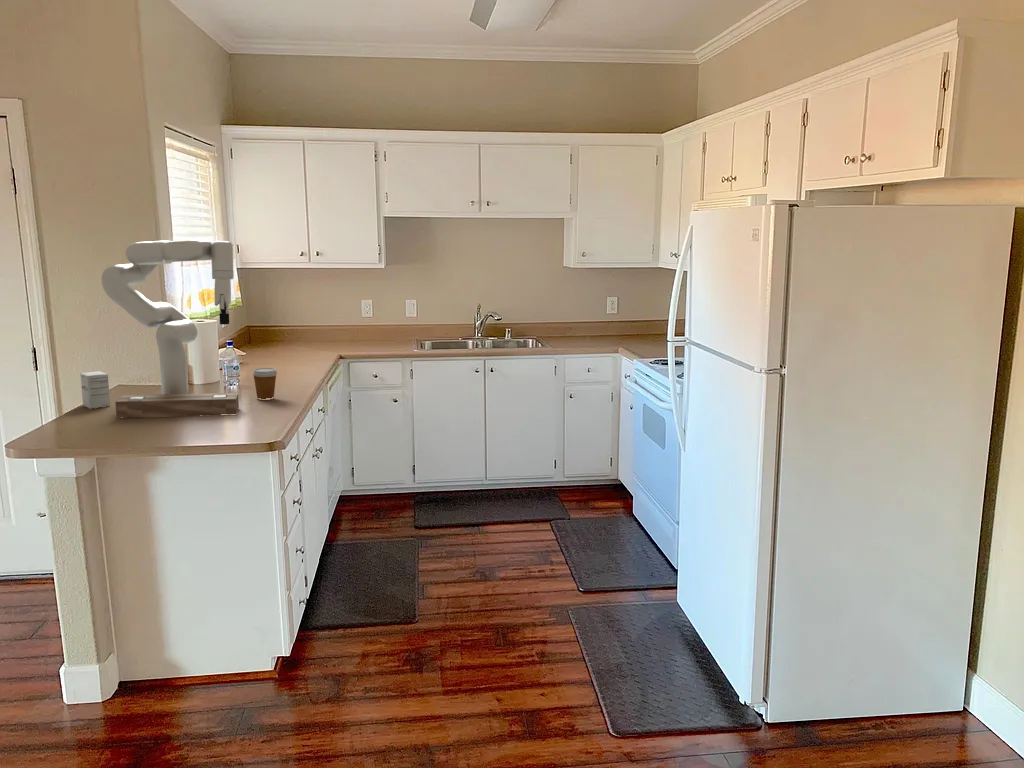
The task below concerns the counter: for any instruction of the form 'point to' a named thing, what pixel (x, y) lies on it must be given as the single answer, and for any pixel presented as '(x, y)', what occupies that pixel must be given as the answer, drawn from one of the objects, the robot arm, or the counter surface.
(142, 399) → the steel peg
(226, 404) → the walnut block
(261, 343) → the counter surface
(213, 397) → the white peg
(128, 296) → the robot arm
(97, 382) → the supplement box
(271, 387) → the disposable coffee cup
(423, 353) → the counter surface
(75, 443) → the counter surface
